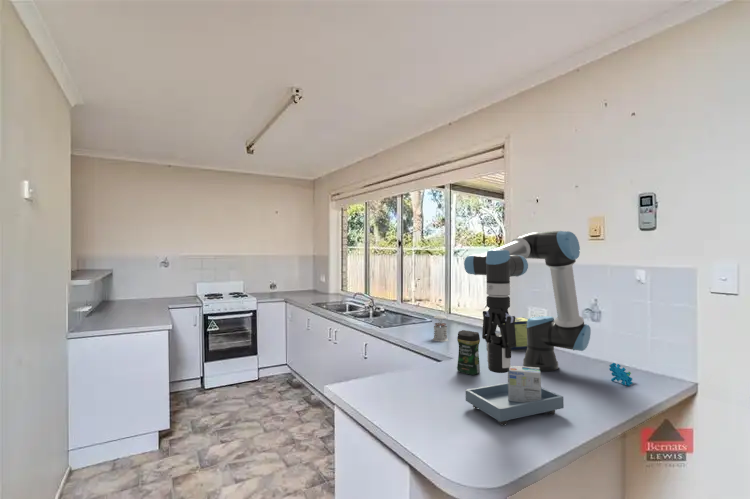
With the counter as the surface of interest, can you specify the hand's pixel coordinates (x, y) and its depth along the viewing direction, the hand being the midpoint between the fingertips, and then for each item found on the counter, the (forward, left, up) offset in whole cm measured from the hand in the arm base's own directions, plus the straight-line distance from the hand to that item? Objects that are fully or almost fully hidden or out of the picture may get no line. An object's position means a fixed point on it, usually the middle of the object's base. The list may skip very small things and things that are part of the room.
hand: (498, 364), depth 130 cm
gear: (-5, +66, -17) cm, 68 cm away
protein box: (-68, +69, -17) cm, 98 cm away
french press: (-101, +39, -17) cm, 110 cm away
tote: (0, +6, -17) cm, 18 cm away
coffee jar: (-41, +17, -17) cm, 48 cm away
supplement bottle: (0, 0, -2) cm, 2 cm away
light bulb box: (0, +11, -14) cm, 18 cm away
